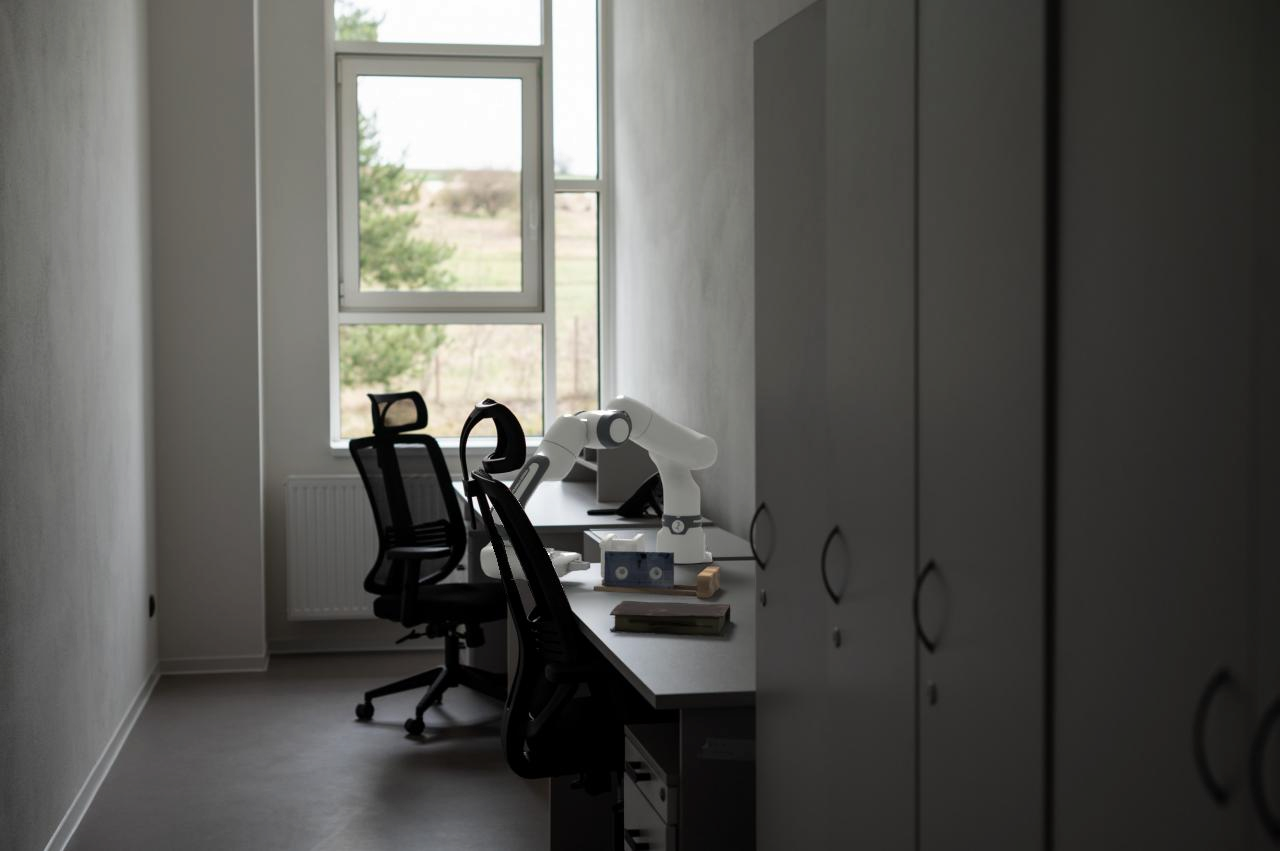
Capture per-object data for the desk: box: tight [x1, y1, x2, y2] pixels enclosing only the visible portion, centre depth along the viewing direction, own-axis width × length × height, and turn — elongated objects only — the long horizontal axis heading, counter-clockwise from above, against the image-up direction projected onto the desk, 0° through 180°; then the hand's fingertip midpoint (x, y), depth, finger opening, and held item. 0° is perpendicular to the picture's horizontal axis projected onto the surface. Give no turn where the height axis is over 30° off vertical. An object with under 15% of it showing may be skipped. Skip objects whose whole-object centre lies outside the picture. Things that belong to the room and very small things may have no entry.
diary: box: [609, 600, 731, 638], centre depth 284 cm, size 19×25×5 cm
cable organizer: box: [598, 533, 646, 579], centre depth 351 cm, size 15×11×12 cm
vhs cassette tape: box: [603, 551, 675, 590], centre depth 332 cm, size 18×3×10 cm, turn 86°
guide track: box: [593, 565, 721, 599], centre depth 331 cm, size 16×31×6 cm, turn 77°
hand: (588, 566), depth 335 cm, fingers closed
